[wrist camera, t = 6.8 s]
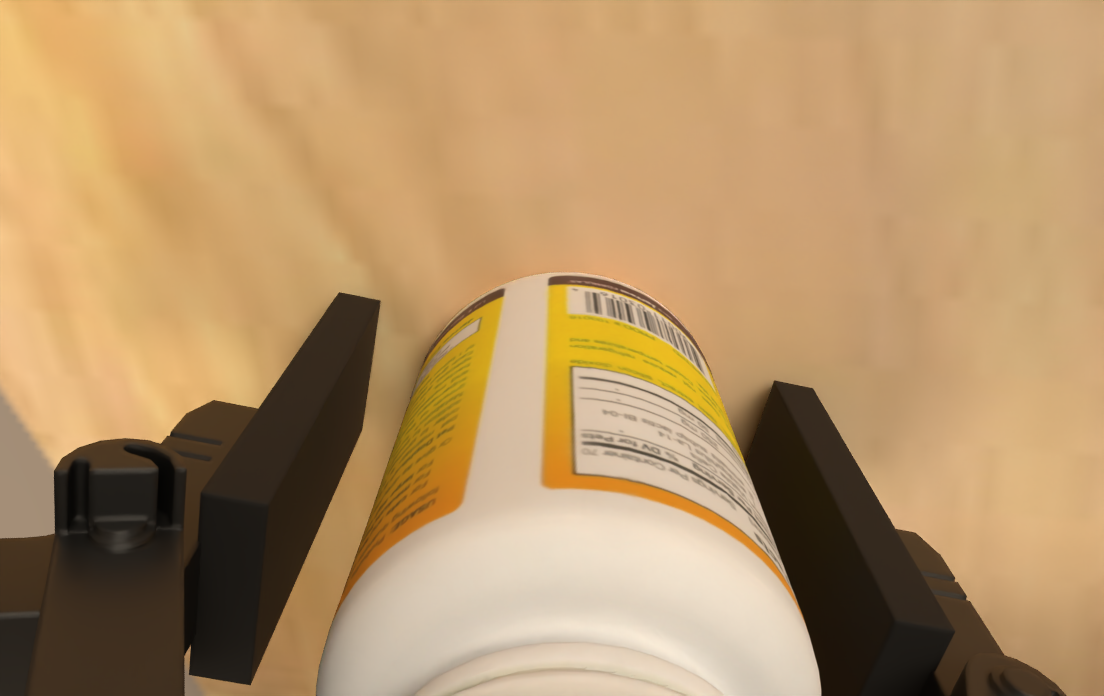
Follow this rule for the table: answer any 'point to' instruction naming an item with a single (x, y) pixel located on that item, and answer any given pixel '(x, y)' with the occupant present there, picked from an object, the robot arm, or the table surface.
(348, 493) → the table surface
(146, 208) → the table surface
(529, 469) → the supplement bottle
